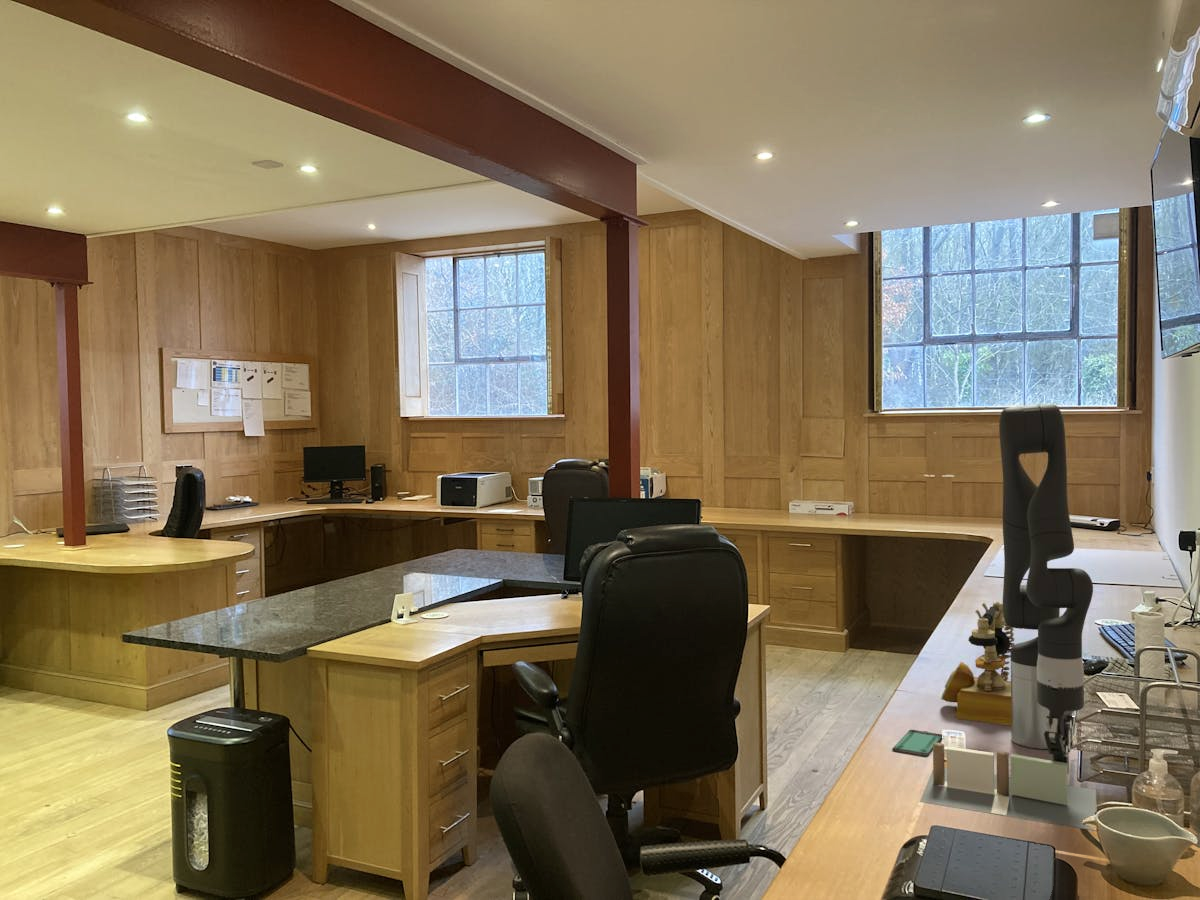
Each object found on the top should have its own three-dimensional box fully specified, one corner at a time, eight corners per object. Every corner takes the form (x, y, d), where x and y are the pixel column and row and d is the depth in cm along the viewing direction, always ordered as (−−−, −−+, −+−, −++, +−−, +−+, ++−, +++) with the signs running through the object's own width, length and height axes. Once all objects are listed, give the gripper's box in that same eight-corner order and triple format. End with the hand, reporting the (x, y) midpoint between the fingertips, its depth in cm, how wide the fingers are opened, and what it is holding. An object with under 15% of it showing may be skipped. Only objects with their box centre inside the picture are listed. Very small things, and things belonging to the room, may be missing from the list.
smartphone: (944, 733, 198) (927, 754, 185) (944, 739, 198) (927, 760, 185) (909, 728, 202) (890, 748, 189) (909, 733, 202) (890, 754, 189)
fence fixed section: (934, 780, 173) (933, 742, 173) (1009, 792, 167) (1008, 752, 167) (932, 784, 171) (932, 745, 171) (1008, 796, 165) (1008, 755, 165)
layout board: (934, 767, 180) (934, 765, 180) (1095, 791, 167) (1095, 788, 167) (919, 803, 164) (919, 800, 164) (1097, 833, 151) (1097, 830, 151)
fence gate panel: (1011, 794, 165) (1010, 756, 165) (1012, 791, 166) (1012, 753, 166) (1066, 805, 160) (1066, 765, 160) (1067, 802, 161) (1067, 763, 161)
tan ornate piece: (959, 683, 238) (958, 588, 238) (1034, 693, 229) (1033, 593, 228) (929, 722, 208) (928, 612, 207) (1014, 734, 199) (1013, 620, 198)
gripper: (1046, 667, 171) (1047, 759, 171) (1027, 685, 160) (1028, 782, 161) (1091, 673, 166) (1092, 767, 167) (1074, 692, 156) (1075, 792, 156)
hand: (1061, 774), depth 164 cm, fingers closed
